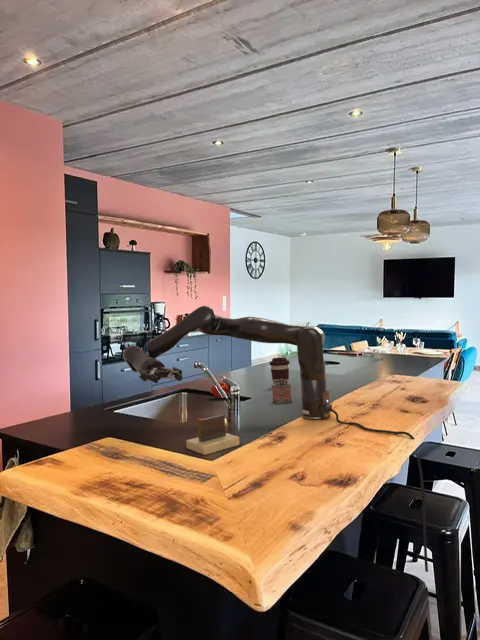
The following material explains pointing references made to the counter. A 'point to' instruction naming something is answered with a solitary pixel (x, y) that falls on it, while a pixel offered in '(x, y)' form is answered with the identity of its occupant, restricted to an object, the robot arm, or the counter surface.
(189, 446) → the beige square slab
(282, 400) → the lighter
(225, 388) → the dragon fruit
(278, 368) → the coffee cup
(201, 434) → the dark brown block
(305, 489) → the counter surface
